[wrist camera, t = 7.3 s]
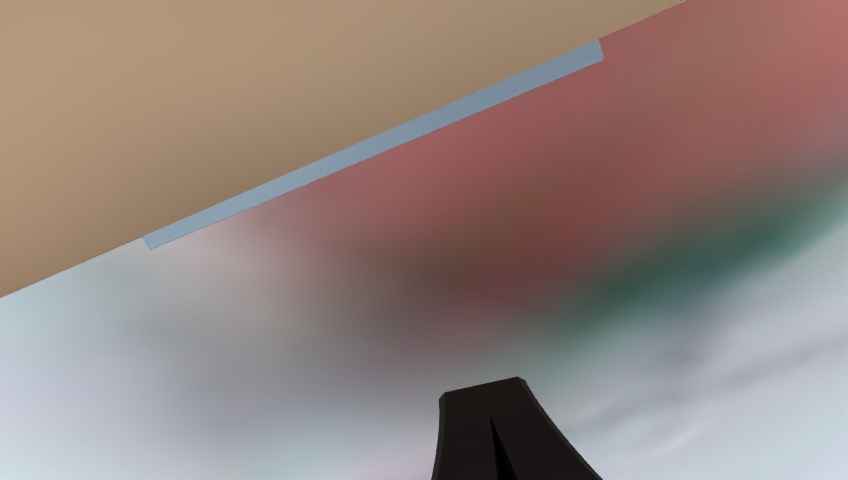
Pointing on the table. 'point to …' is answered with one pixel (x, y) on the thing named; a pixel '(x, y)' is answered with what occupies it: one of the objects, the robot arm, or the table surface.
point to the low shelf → (229, 99)
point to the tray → (385, 141)
